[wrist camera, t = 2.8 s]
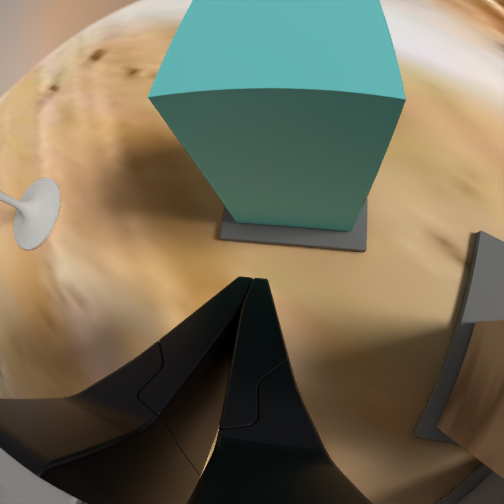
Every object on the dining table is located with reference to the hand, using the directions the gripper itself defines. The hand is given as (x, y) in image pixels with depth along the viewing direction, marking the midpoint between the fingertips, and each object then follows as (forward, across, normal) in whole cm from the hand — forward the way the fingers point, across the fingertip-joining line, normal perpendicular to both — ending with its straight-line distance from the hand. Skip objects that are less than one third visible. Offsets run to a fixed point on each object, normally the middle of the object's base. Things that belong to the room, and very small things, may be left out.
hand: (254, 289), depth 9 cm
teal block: (+12, 0, +1) cm, 12 cm away
